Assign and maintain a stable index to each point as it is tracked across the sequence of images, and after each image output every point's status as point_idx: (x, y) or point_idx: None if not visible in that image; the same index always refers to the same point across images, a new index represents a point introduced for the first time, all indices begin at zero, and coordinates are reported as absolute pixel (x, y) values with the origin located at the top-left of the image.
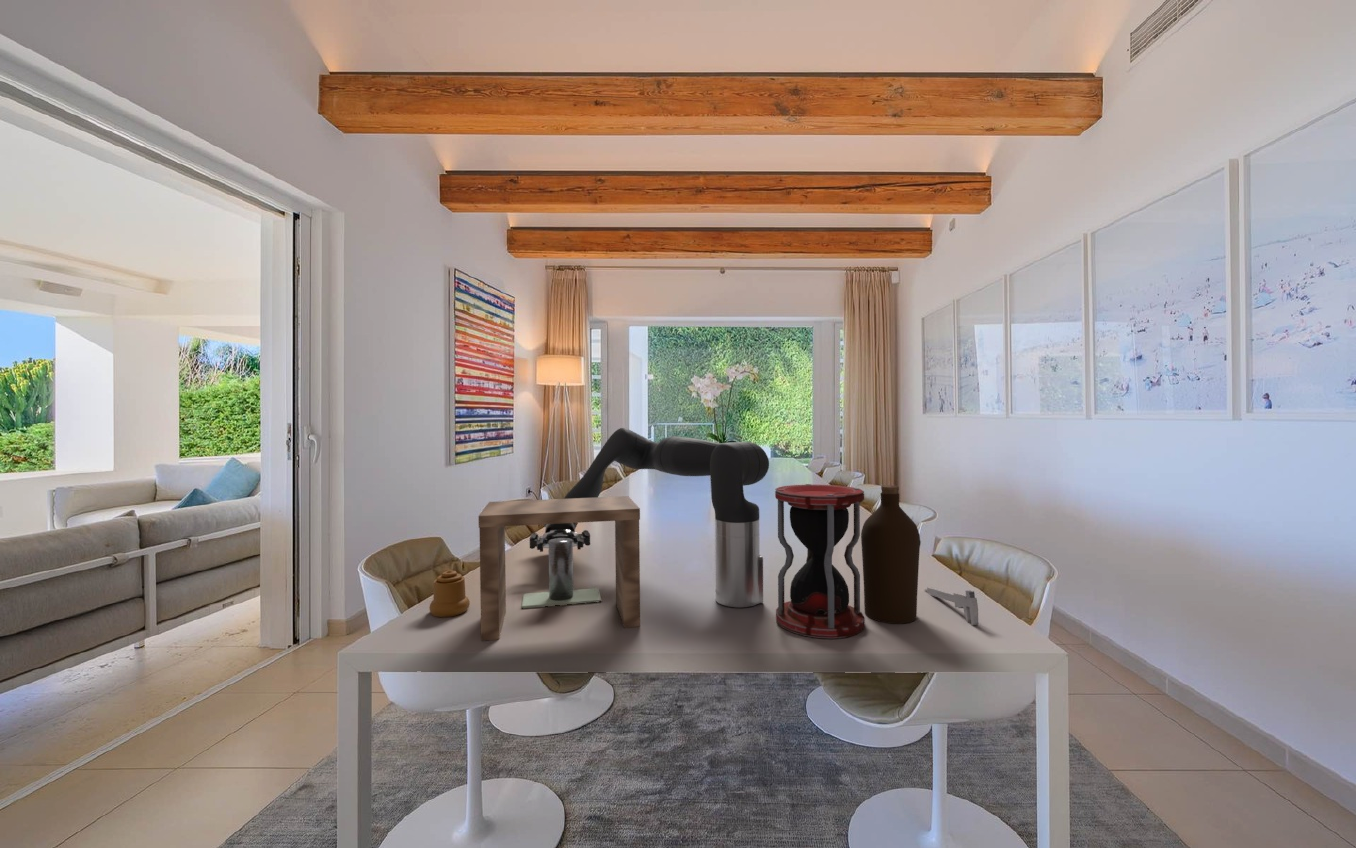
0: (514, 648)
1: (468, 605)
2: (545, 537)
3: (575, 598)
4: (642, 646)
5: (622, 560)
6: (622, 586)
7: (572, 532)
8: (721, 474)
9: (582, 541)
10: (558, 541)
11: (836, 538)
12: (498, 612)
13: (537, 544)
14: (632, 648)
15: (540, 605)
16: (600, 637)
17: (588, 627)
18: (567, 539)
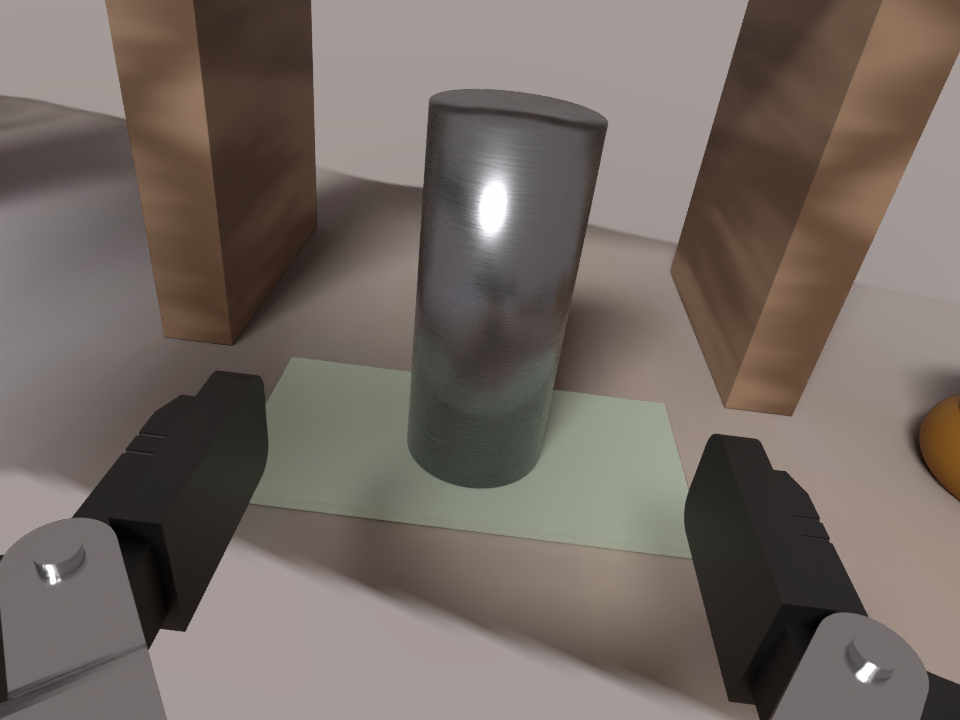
0: (615, 237)
1: (925, 439)
2: (778, 704)
3: (405, 401)
4: (322, 178)
5: (302, 11)
6: (304, 116)
7: (119, 717)
8: None
9: (182, 396)
10: (534, 106)
11: None
12: (692, 198)
13: (788, 483)
14: (347, 179)
15: (578, 396)
16: (399, 217)
17: (415, 252)
18: (465, 107)
